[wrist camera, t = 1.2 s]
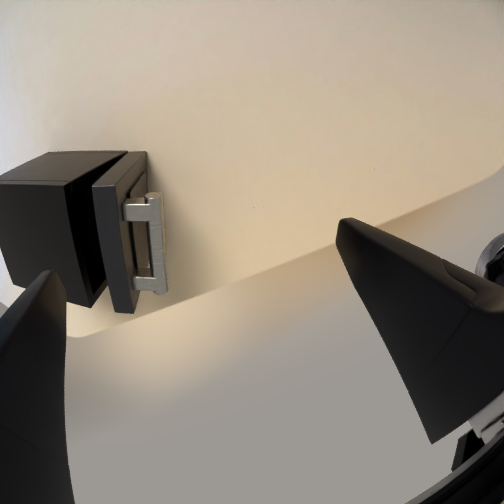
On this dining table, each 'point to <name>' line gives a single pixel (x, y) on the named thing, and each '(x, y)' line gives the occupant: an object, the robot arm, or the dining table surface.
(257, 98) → the dining table surface
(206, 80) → the dining table surface
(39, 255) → the oven
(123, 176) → the oven door
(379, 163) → the dining table surface
